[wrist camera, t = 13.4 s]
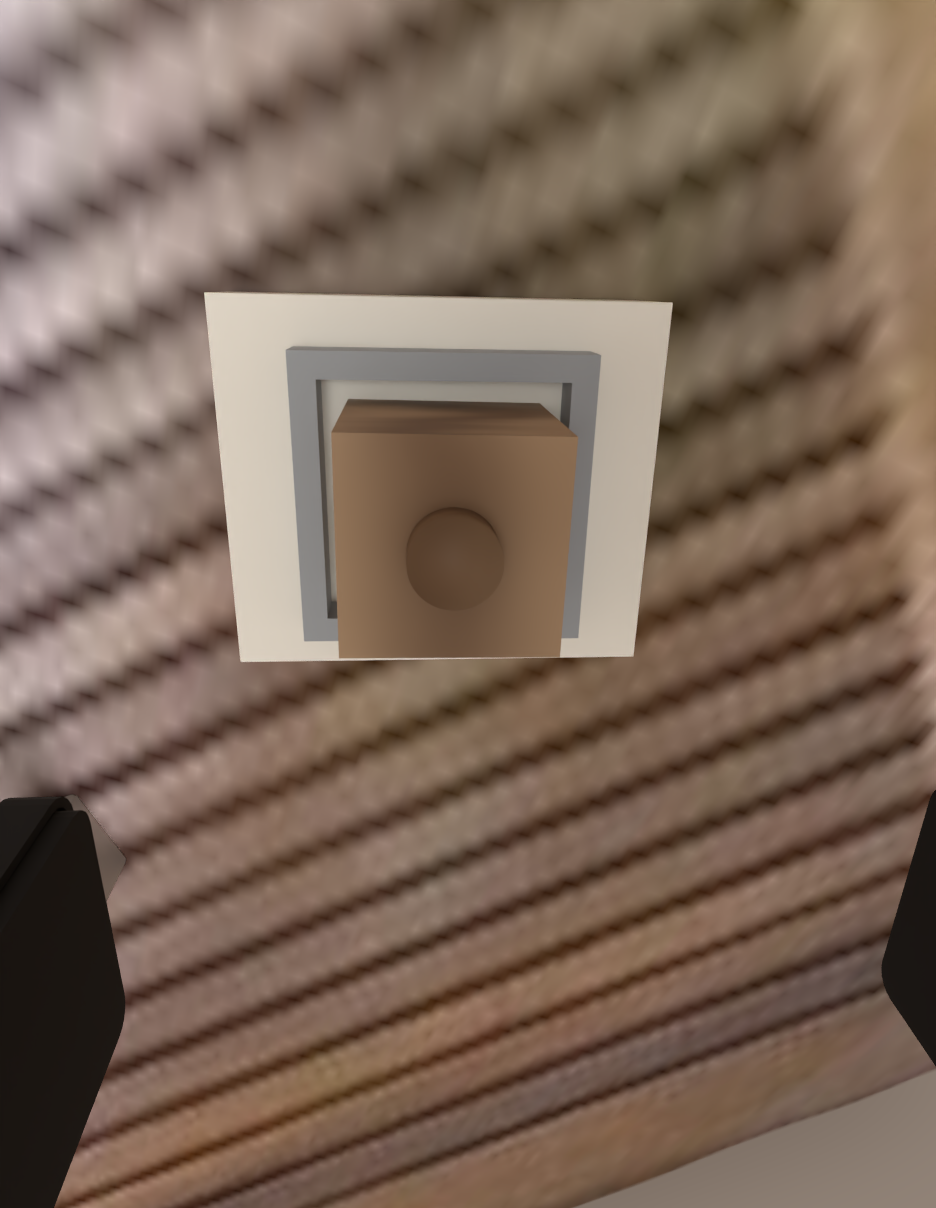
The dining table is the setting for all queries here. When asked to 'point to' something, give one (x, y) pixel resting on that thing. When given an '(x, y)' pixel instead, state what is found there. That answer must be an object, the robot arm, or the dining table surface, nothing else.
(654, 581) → the dining table surface
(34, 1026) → the robot arm
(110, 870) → the lighter
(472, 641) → the walnut block
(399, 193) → the dining table surface
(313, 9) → the dining table surface
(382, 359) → the base plate
